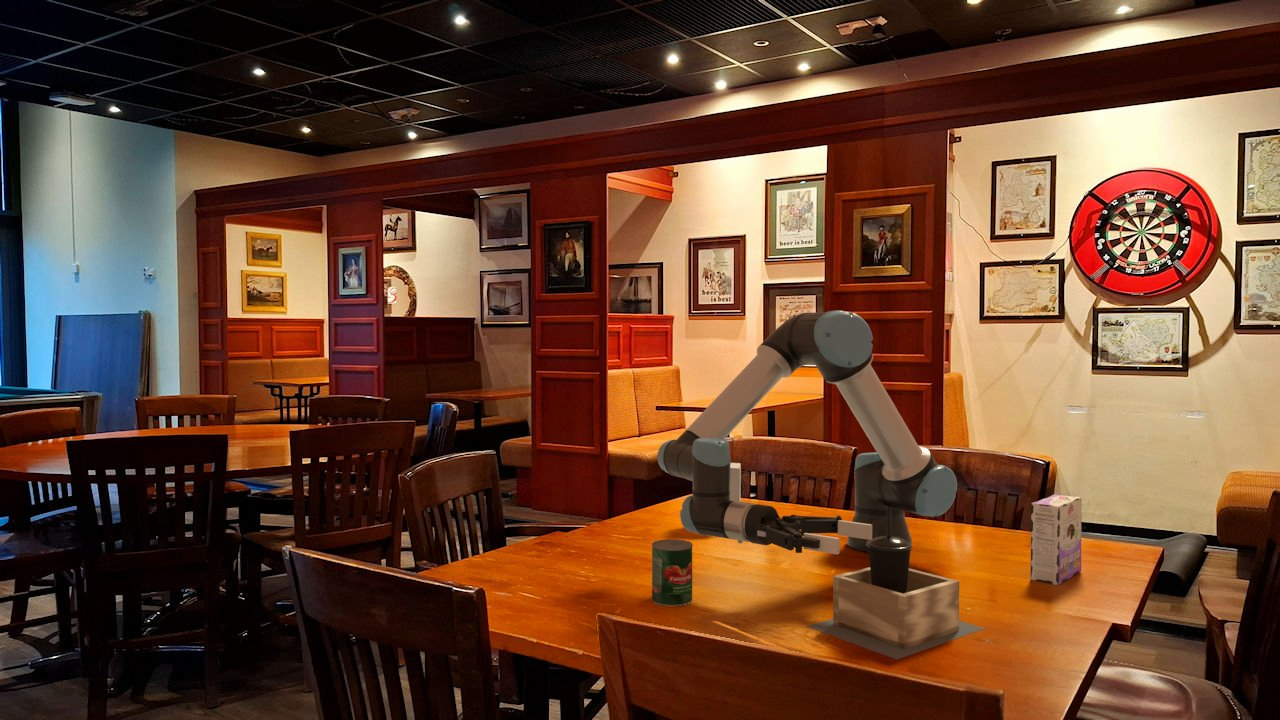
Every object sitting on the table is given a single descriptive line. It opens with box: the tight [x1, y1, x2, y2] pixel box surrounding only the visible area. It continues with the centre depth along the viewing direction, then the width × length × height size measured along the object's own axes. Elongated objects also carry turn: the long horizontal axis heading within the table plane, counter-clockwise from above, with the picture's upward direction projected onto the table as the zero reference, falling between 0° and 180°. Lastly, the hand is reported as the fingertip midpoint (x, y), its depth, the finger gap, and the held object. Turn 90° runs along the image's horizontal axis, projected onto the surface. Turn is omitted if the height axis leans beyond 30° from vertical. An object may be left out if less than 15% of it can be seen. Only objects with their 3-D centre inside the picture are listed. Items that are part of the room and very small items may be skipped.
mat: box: [806, 618, 986, 660], centre depth 147 cm, size 24×19×1 cm
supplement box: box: [730, 462, 742, 502], centre depth 228 cm, size 10×9×17 cm
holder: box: [832, 566, 960, 649], centre depth 147 cm, size 15×15×8 cm
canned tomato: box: [651, 538, 693, 607], centre depth 164 cm, size 8×8×11 cm
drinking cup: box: [866, 507, 913, 594], centre depth 147 cm, size 8×8×20 cm
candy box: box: [1030, 494, 1082, 586], centre depth 180 cm, size 14×6×16 cm, turn 135°
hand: (855, 539), depth 151 cm, fingers open, 13 cm apart
